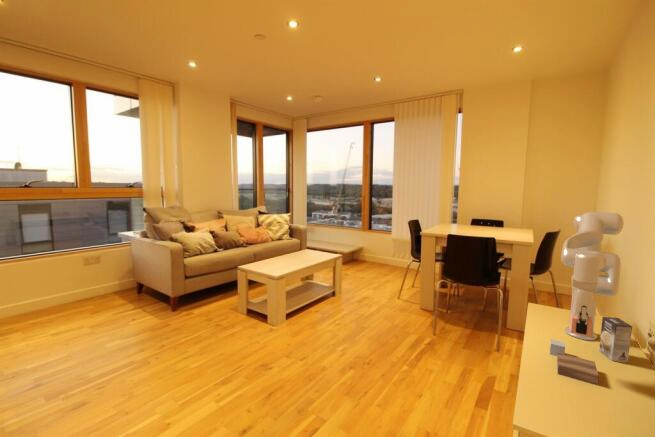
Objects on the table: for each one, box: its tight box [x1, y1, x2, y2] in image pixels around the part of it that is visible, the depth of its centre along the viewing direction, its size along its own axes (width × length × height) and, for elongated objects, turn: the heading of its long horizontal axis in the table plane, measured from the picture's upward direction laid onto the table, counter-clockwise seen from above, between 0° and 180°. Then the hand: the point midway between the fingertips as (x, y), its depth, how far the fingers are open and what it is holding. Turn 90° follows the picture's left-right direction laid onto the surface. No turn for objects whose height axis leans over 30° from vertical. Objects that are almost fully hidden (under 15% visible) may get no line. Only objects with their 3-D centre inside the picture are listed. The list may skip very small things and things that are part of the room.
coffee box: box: [598, 316, 633, 363], centre depth 138 cm, size 9×6×16 cm
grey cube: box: [549, 339, 566, 357], centre depth 140 cm, size 5×5×5 cm
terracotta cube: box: [570, 313, 592, 337], centre depth 124 cm, size 6×6×6 cm
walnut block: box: [556, 353, 599, 386], centre depth 126 cm, size 12×12×4 cm
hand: (580, 329), depth 124 cm, fingers closed on terracotta cube, 6 cm apart
